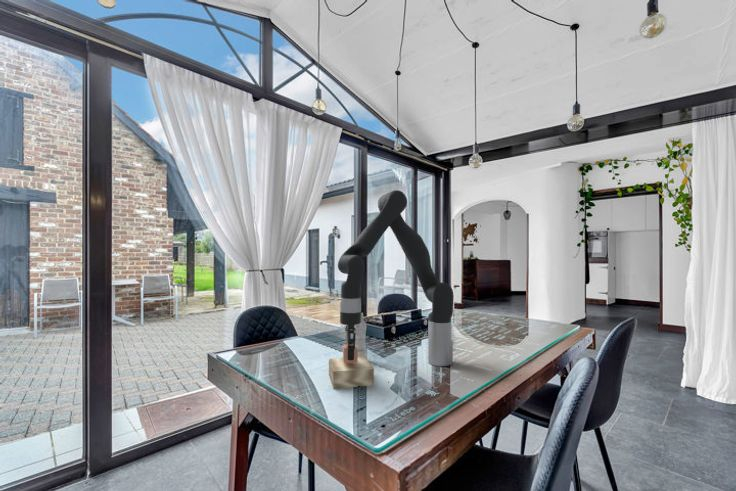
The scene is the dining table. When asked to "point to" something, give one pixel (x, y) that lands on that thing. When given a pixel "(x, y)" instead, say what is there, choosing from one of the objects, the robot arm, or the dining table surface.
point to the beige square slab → (350, 373)
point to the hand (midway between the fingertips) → (350, 357)
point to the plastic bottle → (361, 337)
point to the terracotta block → (345, 352)
